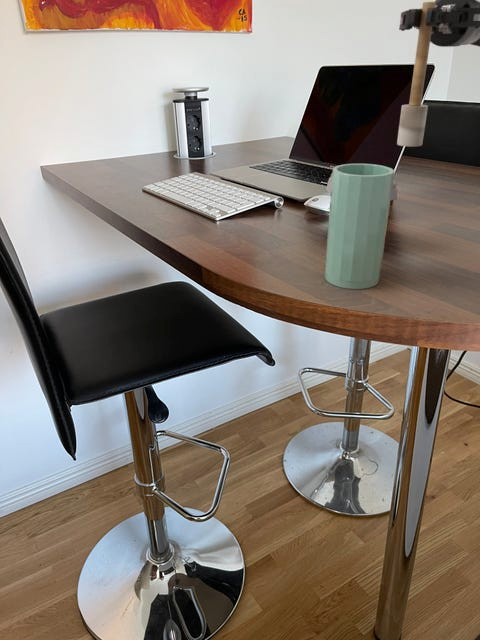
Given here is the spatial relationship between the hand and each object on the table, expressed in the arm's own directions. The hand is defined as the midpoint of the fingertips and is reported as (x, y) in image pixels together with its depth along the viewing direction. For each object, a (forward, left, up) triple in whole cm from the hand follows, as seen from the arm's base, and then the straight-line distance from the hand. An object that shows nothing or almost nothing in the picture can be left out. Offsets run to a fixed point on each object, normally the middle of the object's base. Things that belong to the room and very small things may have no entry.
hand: (420, 17), depth 72 cm
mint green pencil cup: (+10, +25, -31) cm, 40 cm away
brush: (-2, -2, -18) cm, 18 cm away
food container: (+9, +12, -31) cm, 34 cm away
